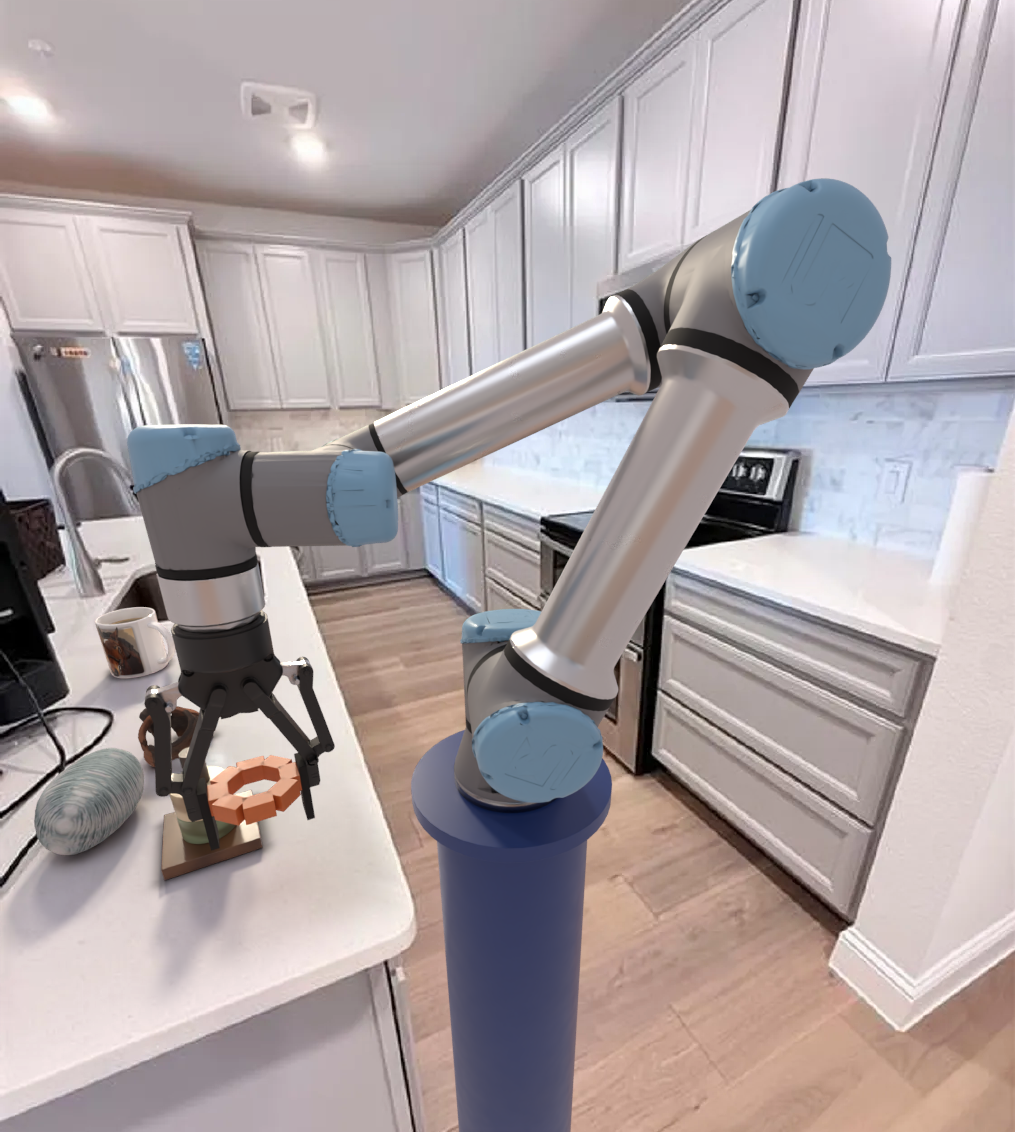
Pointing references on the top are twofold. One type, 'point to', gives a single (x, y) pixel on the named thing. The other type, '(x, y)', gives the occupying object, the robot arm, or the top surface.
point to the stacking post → (202, 835)
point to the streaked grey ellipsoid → (88, 801)
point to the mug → (134, 642)
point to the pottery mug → (180, 723)
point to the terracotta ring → (256, 805)
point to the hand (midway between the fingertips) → (263, 825)
